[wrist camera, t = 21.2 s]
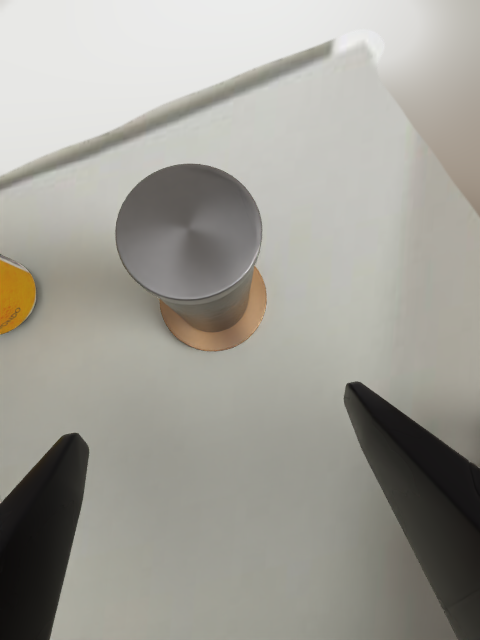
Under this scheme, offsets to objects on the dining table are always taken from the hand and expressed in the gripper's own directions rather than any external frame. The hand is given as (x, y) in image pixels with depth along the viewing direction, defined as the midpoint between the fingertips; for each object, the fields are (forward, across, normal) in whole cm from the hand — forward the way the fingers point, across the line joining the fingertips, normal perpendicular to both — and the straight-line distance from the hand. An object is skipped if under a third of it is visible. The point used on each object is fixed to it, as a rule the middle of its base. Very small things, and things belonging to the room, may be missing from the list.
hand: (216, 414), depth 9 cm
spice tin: (+13, 0, +3) cm, 13 cm away
